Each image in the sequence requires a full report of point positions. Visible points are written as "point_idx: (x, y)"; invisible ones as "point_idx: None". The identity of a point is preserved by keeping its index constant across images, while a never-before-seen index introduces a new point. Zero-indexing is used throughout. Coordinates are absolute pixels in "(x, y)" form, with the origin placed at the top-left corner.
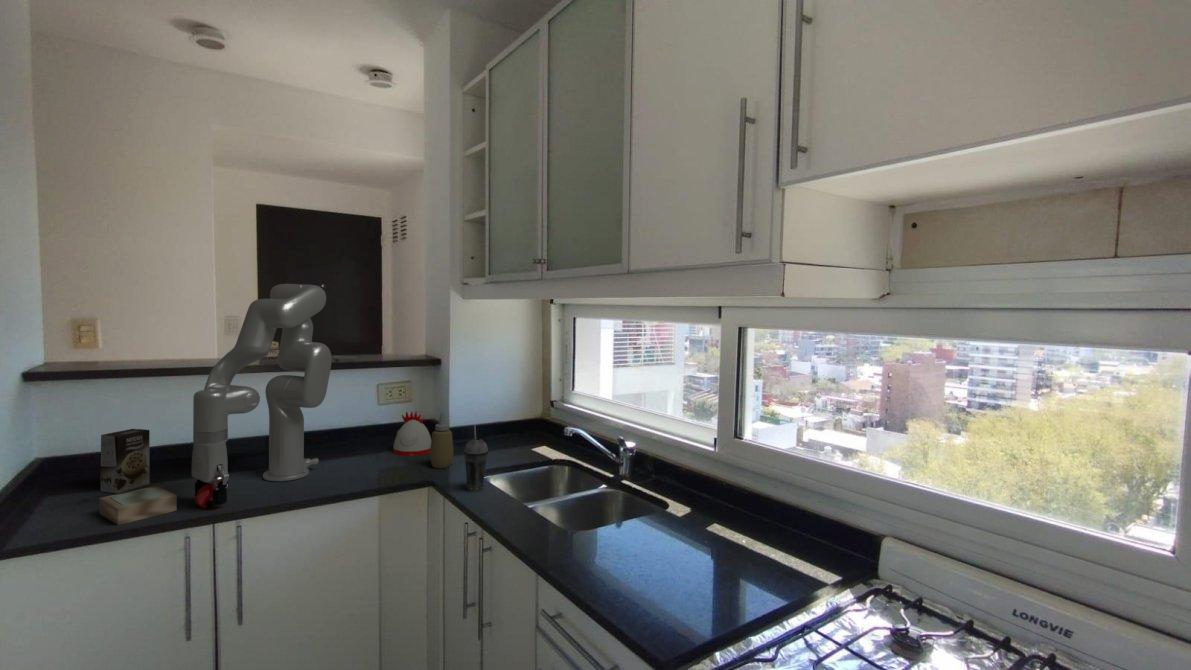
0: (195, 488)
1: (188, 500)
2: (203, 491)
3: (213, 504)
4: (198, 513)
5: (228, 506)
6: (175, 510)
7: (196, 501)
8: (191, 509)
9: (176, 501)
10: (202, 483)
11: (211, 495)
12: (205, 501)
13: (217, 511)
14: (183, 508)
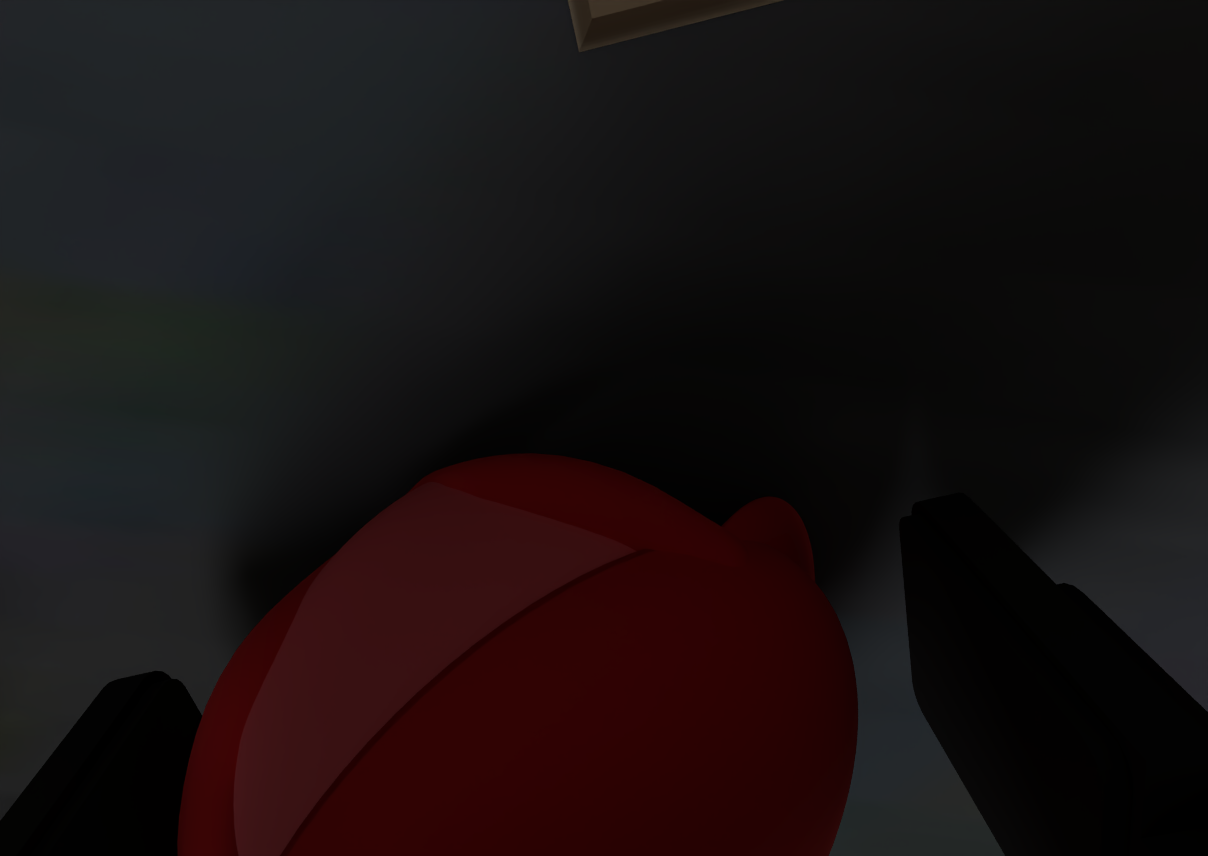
0: (1049, 618)
1: (1109, 356)
2: (354, 767)
3: (102, 689)
4: (137, 390)
5: None
6: (574, 25)
7: (484, 469)
8: (479, 321)
9: (590, 34)
10: (1074, 851)
11: (183, 813)
12: (270, 615)
13: (105, 644)
14: (649, 201)
